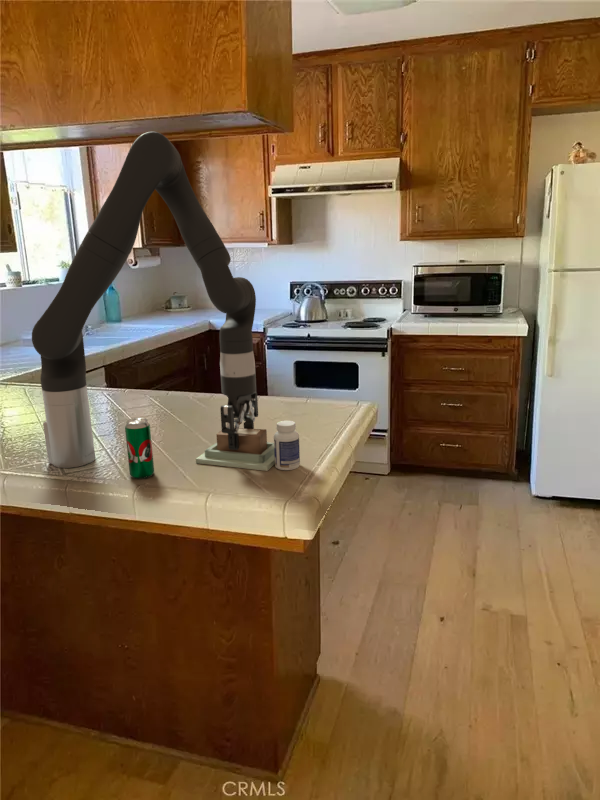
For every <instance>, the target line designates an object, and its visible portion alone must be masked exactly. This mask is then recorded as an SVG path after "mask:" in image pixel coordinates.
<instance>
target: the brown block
mask: <svg viewBox="0 0 600 800" xmlns="http://www.w3.org/2000/svg"><path fill="white" fill-rule="evenodd" d="M267 432H268V431H267V429H264V428H263V429H262V428H261V429H259V428H254V429H245V428H244V427H243V428H240V427H239V430H238V435H239V449H238V450H230V449H229V445H228V434H227V433H222V429H220V430H219V432H218V433H216V443H217V450H219V451H229V452H239V453H249V454H259V455H261V454H262V453H263V452H264V451H265V450H267V442H268V437H267V435H268V433H267Z"/></svg>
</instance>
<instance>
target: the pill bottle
mask: <svg viewBox="0 0 600 800" xmlns="http://www.w3.org/2000/svg"><path fill="white" fill-rule="evenodd" d="M296 427H297V426H296V422H295V421H293V420H281V421H278V422H277V423H276V428H275V429H276V431H275V433H274V434H273V443H274V455H275V464H274V467H275V468H276V469H278V470H281V471H291V470H295V469H297V468H299V467H300V465H301V464H300V463H301V461H300V460H301V459H300V457H301V456H300V435H299V432H298V431H296V430H297V429H296Z"/></svg>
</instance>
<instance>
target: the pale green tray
mask: <svg viewBox="0 0 600 800" xmlns="http://www.w3.org/2000/svg"><path fill="white" fill-rule="evenodd" d="M195 464H201V465H212V466H218V467H220V466H221V467H229V468H237V469H248V470H256V471H257V470H258V471H266V472H268V471H269V470H270V469H271V468H272V467H273V466H275V455H274V442H270V441H267V450H265V451H264V452H263V453H262V454H261V455H259V454H249V453H239V452H229V451H219V450H217V442H215V443H213V445H211V446H209V447H208V448H206V449H205V450H204V452H203V453H202V454H201V455H199V456H198V457H196V458H195Z"/></svg>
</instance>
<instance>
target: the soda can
mask: <svg viewBox="0 0 600 800" xmlns="http://www.w3.org/2000/svg"><path fill="white" fill-rule="evenodd" d="M151 430H152V429H151V424H150V422H149V420H148V419H147V418H145V417H136V418H135V417H134V418H130V419H127V420H126V421H125V426H124V433H125V434H124V435H125V443H126V444H125V445H126V452H127V453H126V454H127V460H128V461H127V462H128V469H129V471H128V472H129V476H130V477H132V479H137V480H142V479H148V478H150V477H152V476H153V475H154V473H155V463H154V453H153V443H152V442H153V441H152V433H151Z"/></svg>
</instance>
